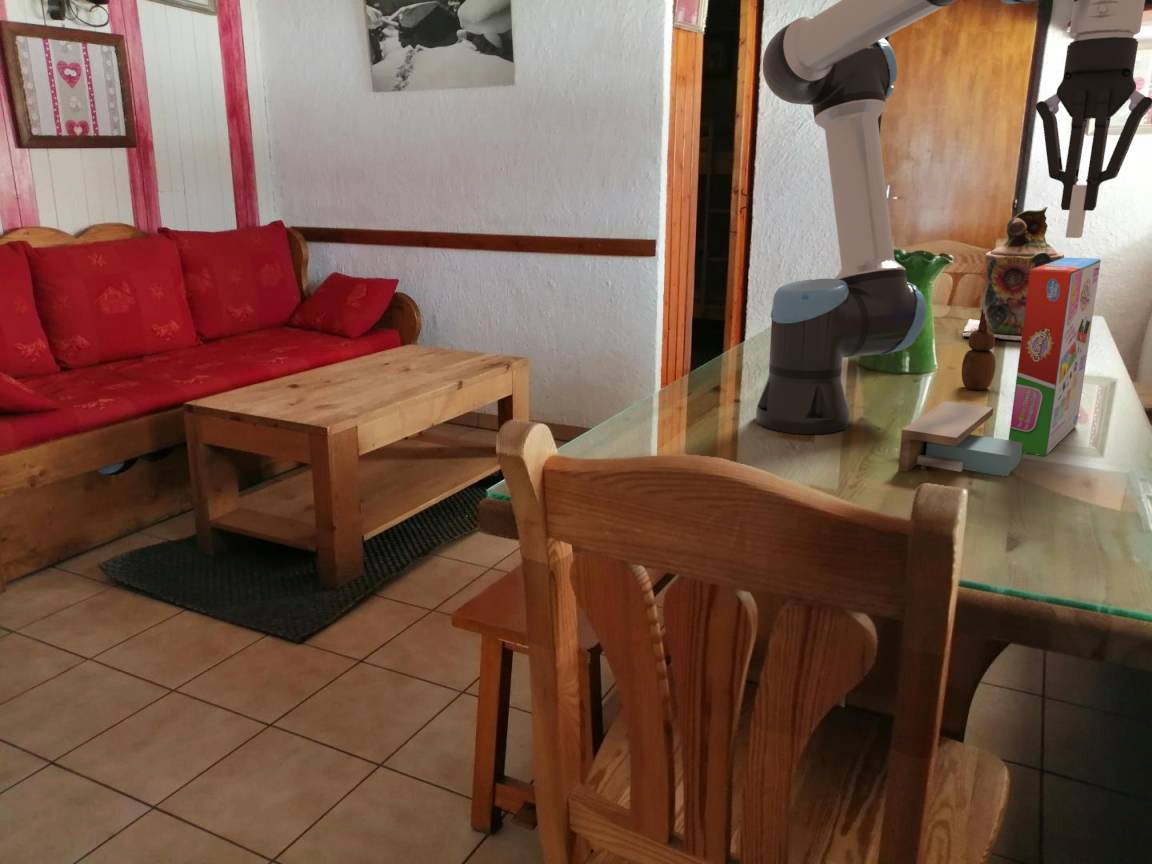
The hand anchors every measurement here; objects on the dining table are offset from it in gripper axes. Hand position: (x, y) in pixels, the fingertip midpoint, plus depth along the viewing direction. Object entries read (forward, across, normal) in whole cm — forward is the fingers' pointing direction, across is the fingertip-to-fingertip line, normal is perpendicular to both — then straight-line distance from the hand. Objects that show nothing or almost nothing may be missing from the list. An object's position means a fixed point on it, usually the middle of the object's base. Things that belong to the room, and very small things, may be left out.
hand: (1073, 236), depth 116 cm
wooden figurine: (+33, -20, +49) cm, 62 cm away
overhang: (+32, -12, 0) cm, 35 cm away
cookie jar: (+33, -27, +118) cm, 125 cm away
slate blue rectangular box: (+32, -9, 0) cm, 33 cm away
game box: (+33, -3, +19) cm, 38 cm away
